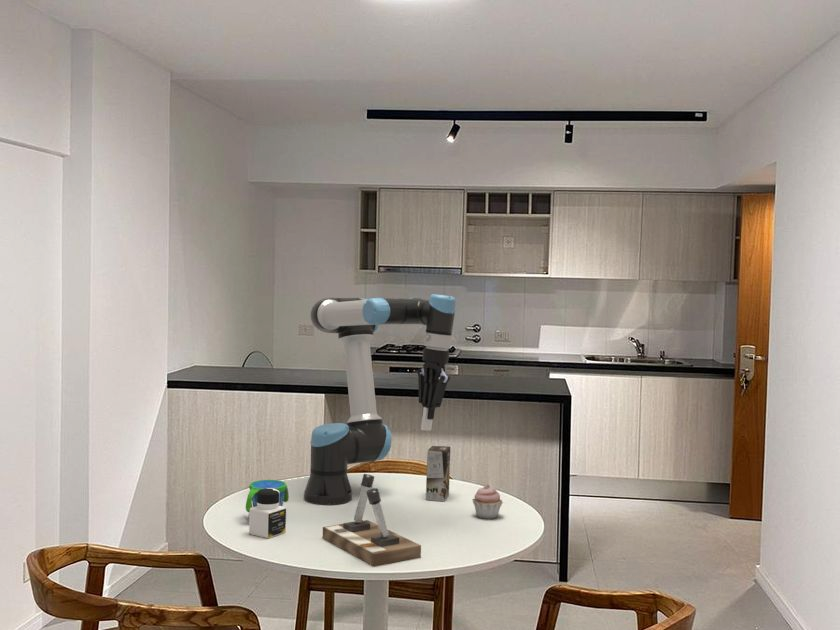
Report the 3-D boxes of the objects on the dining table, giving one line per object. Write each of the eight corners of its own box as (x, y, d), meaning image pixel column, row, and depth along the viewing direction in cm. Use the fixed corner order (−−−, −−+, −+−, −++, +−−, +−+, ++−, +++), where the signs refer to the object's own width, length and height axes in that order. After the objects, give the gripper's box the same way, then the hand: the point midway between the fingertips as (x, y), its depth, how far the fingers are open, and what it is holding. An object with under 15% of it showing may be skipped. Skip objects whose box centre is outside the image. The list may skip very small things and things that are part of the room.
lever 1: (349, 519, 228) (361, 473, 229) (359, 520, 230) (370, 475, 231) (355, 522, 226) (367, 475, 227) (364, 523, 227) (376, 477, 229)
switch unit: (322, 538, 229) (323, 521, 228) (367, 530, 237) (367, 514, 236) (373, 566, 207) (374, 548, 207) (420, 557, 215) (421, 539, 215)
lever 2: (376, 536, 216) (364, 492, 214) (386, 531, 218) (373, 487, 215) (382, 539, 214) (370, 495, 211) (392, 534, 216) (380, 489, 213)
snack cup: (258, 528, 236) (259, 491, 236) (233, 520, 243) (234, 485, 242) (299, 517, 248) (300, 482, 248) (275, 510, 255) (276, 476, 254)
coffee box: (444, 501, 270) (446, 451, 270) (425, 500, 272) (426, 450, 271) (449, 495, 279) (451, 446, 279) (430, 493, 281) (432, 444, 280)
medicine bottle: (268, 539, 226) (269, 494, 226) (248, 534, 230) (249, 490, 230) (286, 532, 232) (287, 489, 232) (266, 528, 236) (267, 485, 236)
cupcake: (464, 515, 255) (465, 482, 255) (485, 510, 262) (486, 478, 261) (488, 522, 248) (489, 488, 248) (508, 517, 255) (510, 484, 255)
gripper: (412, 344, 246) (402, 425, 247) (439, 351, 236) (428, 434, 237) (433, 346, 251) (423, 425, 252) (460, 352, 240) (450, 434, 241)
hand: (426, 429), depth 244 cm, fingers closed
